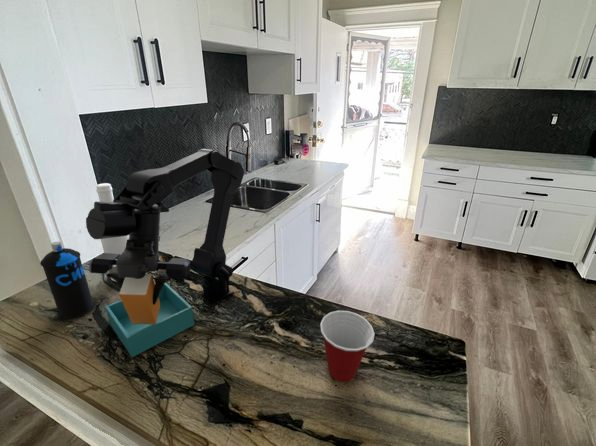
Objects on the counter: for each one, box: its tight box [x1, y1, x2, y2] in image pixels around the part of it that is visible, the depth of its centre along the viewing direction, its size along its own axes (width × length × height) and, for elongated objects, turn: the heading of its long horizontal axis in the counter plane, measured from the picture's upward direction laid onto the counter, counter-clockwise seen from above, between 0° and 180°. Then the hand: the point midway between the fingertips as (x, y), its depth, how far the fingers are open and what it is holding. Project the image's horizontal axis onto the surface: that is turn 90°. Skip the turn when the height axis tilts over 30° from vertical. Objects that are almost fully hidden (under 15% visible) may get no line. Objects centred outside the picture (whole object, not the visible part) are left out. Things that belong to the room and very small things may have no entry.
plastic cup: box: [319, 310, 375, 383], centre depth 65 cm, size 11×11×12 cm
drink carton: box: [118, 273, 161, 324], centre depth 68 cm, size 5×5×13 cm
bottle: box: [95, 182, 129, 282], centre depth 95 cm, size 8×8×30 cm
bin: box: [104, 282, 195, 358], centre depth 79 cm, size 15×15×6 cm
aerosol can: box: [39, 241, 96, 320], centre depth 81 cm, size 8×8×20 cm
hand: (141, 303), depth 68 cm, fingers closed on drink carton, 5 cm apart
